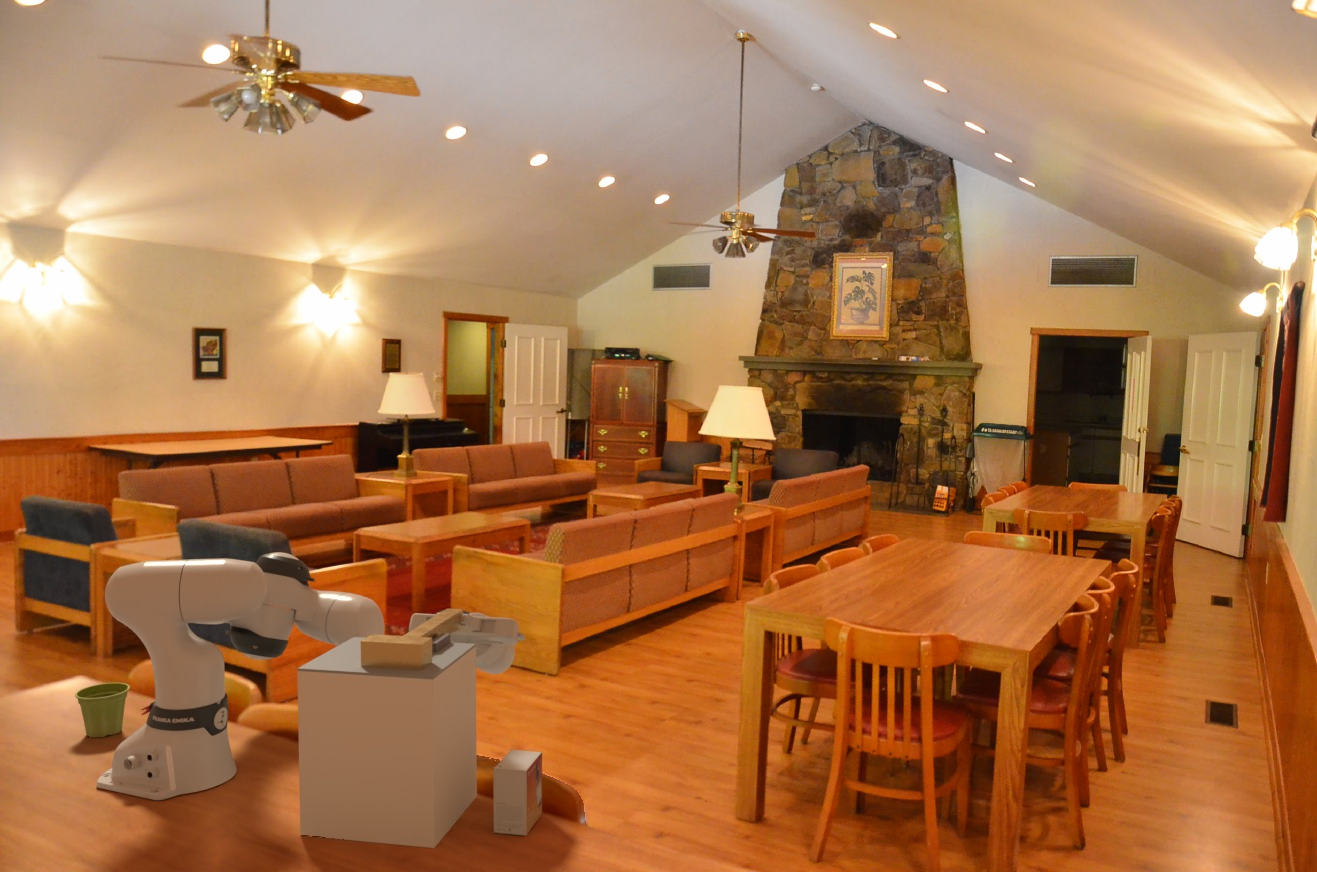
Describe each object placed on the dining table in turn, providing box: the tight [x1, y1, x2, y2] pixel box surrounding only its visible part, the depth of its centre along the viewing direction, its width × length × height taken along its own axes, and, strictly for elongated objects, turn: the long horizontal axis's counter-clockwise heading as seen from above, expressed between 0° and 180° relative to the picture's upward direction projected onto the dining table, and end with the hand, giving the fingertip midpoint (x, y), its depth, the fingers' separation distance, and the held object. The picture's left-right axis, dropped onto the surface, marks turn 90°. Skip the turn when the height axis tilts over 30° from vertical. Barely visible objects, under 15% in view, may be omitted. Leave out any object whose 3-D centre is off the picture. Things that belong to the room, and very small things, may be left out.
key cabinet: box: [296, 633, 478, 849], centre depth 154 cm, size 22×18×28 cm
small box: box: [492, 749, 543, 836], centre depth 152 cm, size 8×6×10 cm
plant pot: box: [74, 682, 131, 738], centre depth 190 cm, size 9×9×9 cm
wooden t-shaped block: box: [361, 608, 464, 670], centre depth 159 cm, size 10×26×4 cm, turn 170°
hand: (451, 617), depth 170 cm, fingers closed on wooden t-shaped block, 3 cm apart
